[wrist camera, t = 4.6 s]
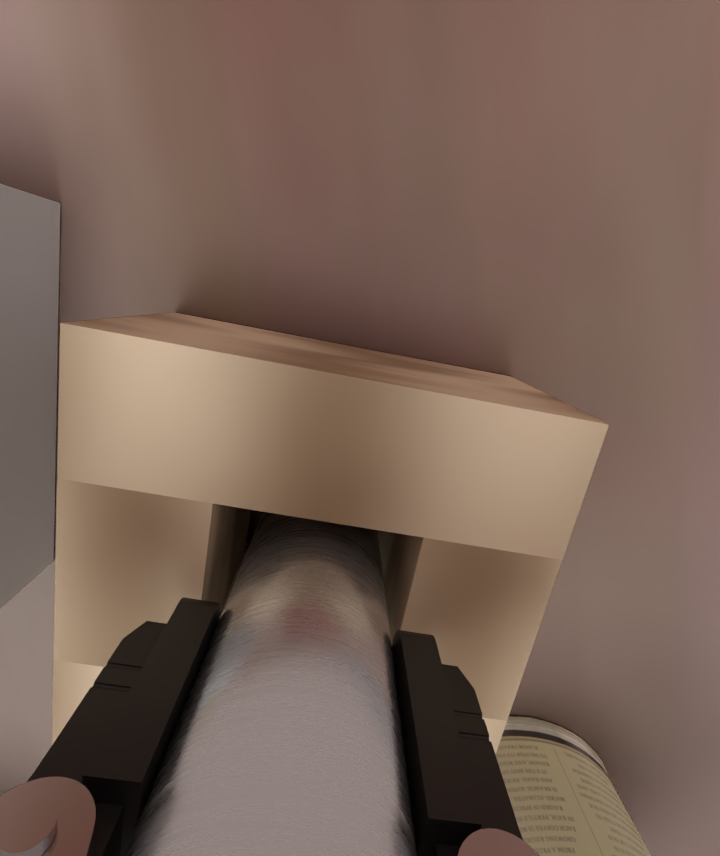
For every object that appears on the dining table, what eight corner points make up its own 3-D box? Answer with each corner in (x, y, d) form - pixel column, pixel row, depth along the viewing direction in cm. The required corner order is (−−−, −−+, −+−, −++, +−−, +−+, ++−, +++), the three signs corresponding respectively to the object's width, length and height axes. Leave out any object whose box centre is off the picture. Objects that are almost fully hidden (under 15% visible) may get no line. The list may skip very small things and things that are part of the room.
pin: (396, 455, 16) (688, 1411, 2) (371, 567, 17) (462, 1655, 3) (267, 432, 16) (-305, 1385, 2) (251, 548, 17) (-186, 1665, 3)
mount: (511, 376, 15) (608, 424, 10) (434, 650, 18) (474, 814, 13) (174, 312, 15) (60, 322, 9) (149, 609, 17) (51, 764, 12)
